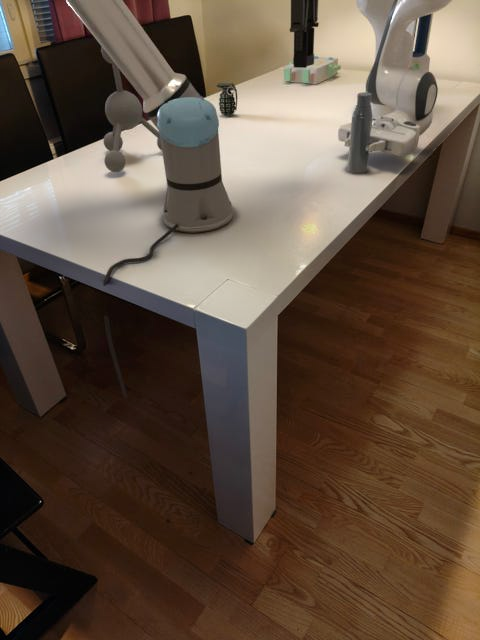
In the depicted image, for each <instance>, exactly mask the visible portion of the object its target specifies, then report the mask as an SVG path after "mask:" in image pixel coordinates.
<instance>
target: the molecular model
mask: <svg viewBox="0 0 480 640" xmlns="http://www.w3.org/2000/svg"><path fill="white" fill-rule="evenodd" d="M100 52H101V55H102V58H103V59H104V60H105V62H107V63H109V64H111V66H112V71H113V76H114V81H115V87H116V91H114V92H113V93H111V94H110V95H109V96H107V99H106V101H105V105H104V106H105V107H104V112H105V117H106V118H107V120H108V122H109V123H110V124H111V125H112V126H113V128H112V131H110V132H107V133H106V134H105V135H104V137H103V146H104V147H105V149H106V150H107V151H108V152H107V153H106V155H105V156H104V158H103V159H104V165H105V167H106V169H107V170H109V171H110V172H113V173H120V172H121V171H123V170H124V169H125V167H126V163H127V162H126V161H127V160H126V157H125V155H124V154H123V153H122V152H121V151H120V150H121V149H122V148H123V144H124V141H123V138H122V137H121V136H122V131H128V130H132V129H134V128H136V127H137V126H138V125H139V124H141V125H142V126H143V127H145V128H146V130H148V131H149V132H150V133H151V134H153V135H154V136H155V137H156V138H157V139H156V145H157V147H158V149H159V150H160V151H161V152H162V146H161V140H160V133H159V131H158V129H157V128H156V127H155V126H153V125H152V124H151V123H149V122H148V121H147V120H146V119H145V118H144V117H143V105H142V104H141V101H140V100H139V98H138V97H137V96H136V95H135V94H134V93H132V92H130V91H128V90H124V89H123V83H122V78H121V71H120V69H119V68H118V66H117V65H116V64H115V63H114V61H113V60H112V59H111V57H110V56H109V55H108V54H107V52H106V51H105V50H104V49H103V47H102V46H101V49H100Z"/></svg>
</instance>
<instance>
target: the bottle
mask: <svg viewBox="0 0 480 640" xmlns="http://www.w3.org/2000/svg"><path fill="white" fill-rule="evenodd" d="M371 97H372V94H371V93H367V92H359V93H357V96H356V105H355V107H354V110H353V113H352V116H351V122H350V123H351V135H350V146H349V147H348V157H347V158H348V159H347V172H348V173H351V174H355V175H356V174H359V175H360V174H364V173H366V172H367V171H368V163H369V154H370V152H367V151H365V149H366V144H369V143H370V137H371V128H372V125H373V120H374V119H373V117H372V116H373V114H372V108H371V105H370V104H371Z"/></svg>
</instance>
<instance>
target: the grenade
mask: <svg viewBox="0 0 480 640" xmlns="http://www.w3.org/2000/svg"><path fill="white" fill-rule="evenodd" d="M215 87H217V88H219V89H221V93H219V97H218V101H219V102H218V106H219V108H218V109H219V112H220V114H221V115H222V116H224V117H231V116H233V115H234V113H235V112H236V111H237V108H238V89H237V87H236V85H235V84H234V83H233V82H218V83H217V84H216V86H215ZM232 91H233V92H232ZM234 94H235V96H234Z"/></svg>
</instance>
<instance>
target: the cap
mask: <svg viewBox="0 0 480 640" xmlns="http://www.w3.org/2000/svg"><path fill="white" fill-rule="evenodd" d="M314 56H315V53H307V66H310V65H313V64H314ZM292 59H293V61H292V62H293V64H294V56H293V57H292Z"/></svg>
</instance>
